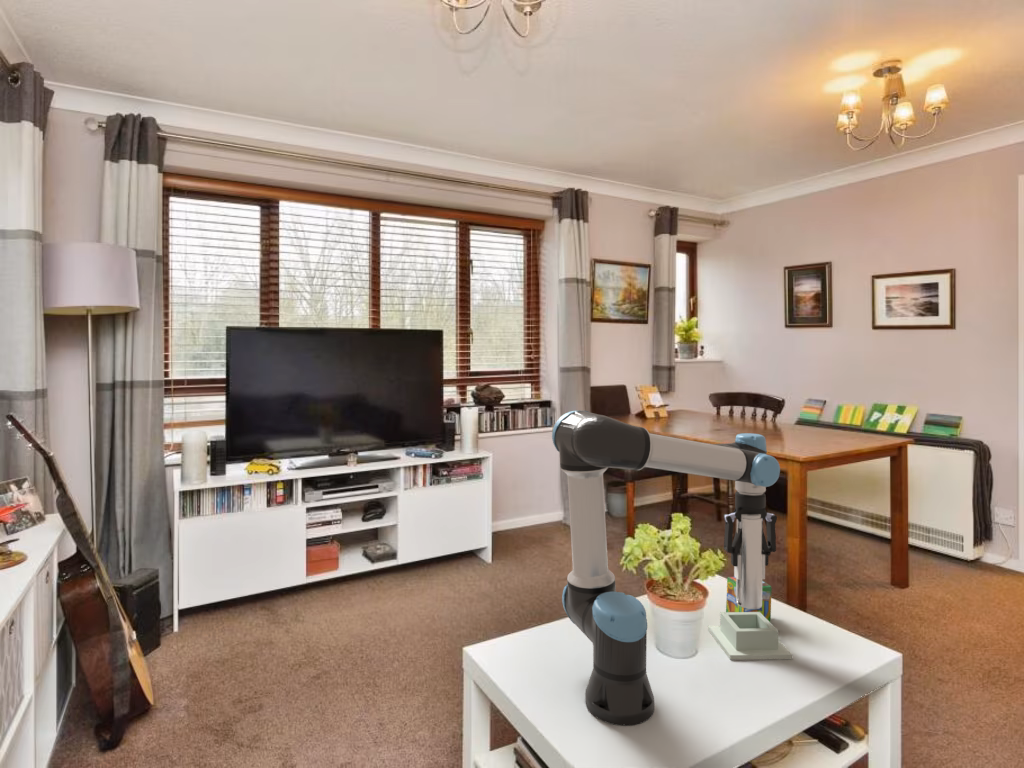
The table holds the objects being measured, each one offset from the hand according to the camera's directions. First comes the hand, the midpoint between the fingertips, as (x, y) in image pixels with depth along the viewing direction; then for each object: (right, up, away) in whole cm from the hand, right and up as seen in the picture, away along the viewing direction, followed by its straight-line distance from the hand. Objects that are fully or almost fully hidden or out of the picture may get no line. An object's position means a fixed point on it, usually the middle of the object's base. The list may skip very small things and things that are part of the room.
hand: (749, 577), depth 155 cm
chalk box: (+6, -18, +15) cm, 24 cm away
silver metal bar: (0, -8, 0) cm, 8 cm away
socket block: (0, -18, +1) cm, 18 cm away
